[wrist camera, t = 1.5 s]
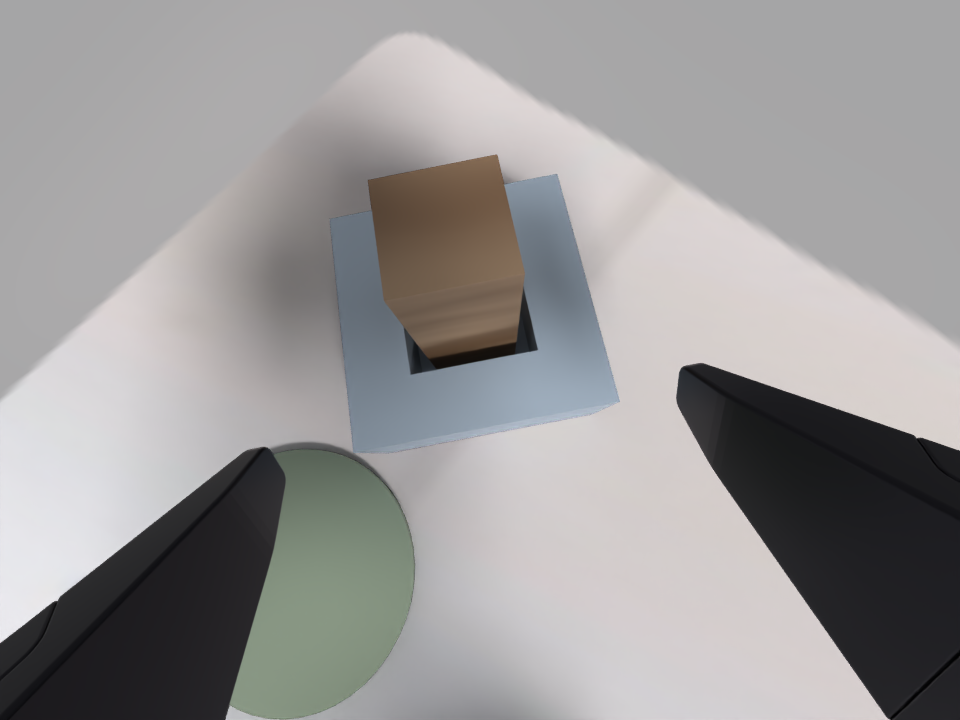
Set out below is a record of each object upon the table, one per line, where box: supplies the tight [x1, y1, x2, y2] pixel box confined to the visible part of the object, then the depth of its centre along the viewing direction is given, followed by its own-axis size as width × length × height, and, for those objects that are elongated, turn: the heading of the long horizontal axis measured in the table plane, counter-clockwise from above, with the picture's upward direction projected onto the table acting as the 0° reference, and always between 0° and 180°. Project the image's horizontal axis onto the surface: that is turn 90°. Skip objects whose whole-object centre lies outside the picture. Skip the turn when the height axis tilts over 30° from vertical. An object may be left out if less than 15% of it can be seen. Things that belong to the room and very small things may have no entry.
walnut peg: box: [368, 155, 525, 369], centre depth 16 cm, size 4×4×9 cm
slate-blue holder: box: [330, 174, 620, 453], centre depth 20 cm, size 11×11×5 cm
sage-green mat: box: [230, 449, 415, 719], centre depth 19 cm, size 12×12×1 cm
